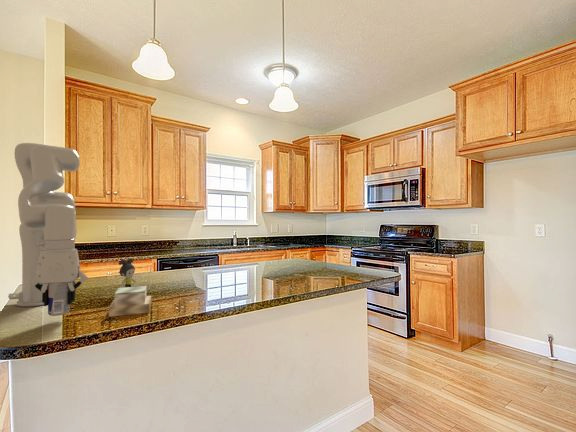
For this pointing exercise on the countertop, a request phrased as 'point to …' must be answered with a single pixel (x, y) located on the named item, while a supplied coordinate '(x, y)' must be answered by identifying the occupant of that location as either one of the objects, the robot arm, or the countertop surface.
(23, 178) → the robot arm
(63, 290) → the energy drink
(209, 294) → the countertop surface
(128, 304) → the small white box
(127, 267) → the toy
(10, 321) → the countertop surface
